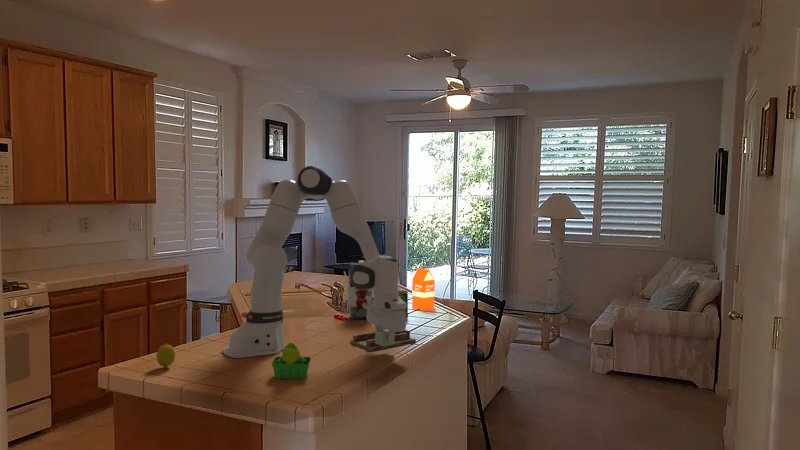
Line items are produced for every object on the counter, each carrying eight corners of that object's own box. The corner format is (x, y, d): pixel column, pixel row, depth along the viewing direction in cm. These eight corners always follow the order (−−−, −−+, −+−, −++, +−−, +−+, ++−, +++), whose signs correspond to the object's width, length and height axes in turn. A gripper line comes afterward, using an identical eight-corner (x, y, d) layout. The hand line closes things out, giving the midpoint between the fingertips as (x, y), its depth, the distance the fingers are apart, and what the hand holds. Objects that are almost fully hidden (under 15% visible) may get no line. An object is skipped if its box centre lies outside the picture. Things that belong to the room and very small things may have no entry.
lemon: (169, 364, 181) (169, 340, 181) (178, 367, 178) (178, 343, 177) (153, 368, 177) (153, 343, 176) (161, 371, 173) (161, 346, 173)
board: (370, 351, 198) (370, 340, 198) (350, 343, 209) (350, 332, 209) (415, 342, 211) (415, 332, 211) (394, 335, 222) (394, 325, 222)
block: (382, 346, 192) (383, 333, 192) (374, 343, 196) (375, 330, 196) (394, 344, 195) (394, 332, 195) (386, 341, 199) (386, 329, 199)
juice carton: (347, 316, 258) (347, 259, 256) (368, 315, 261) (369, 259, 260) (351, 320, 249) (351, 261, 248) (373, 319, 252) (373, 261, 251)
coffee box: (392, 320, 249) (393, 292, 249) (389, 319, 252) (390, 291, 251) (408, 318, 253) (408, 290, 252) (405, 317, 256) (405, 289, 255)
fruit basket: (311, 372, 174) (311, 337, 173) (307, 381, 165) (307, 344, 165) (275, 372, 174) (275, 337, 173) (270, 381, 165) (269, 344, 164)
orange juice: (423, 305, 287) (423, 267, 286) (434, 307, 280) (435, 269, 279) (411, 307, 282) (412, 268, 281) (423, 309, 275) (423, 270, 274)
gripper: (362, 297, 201) (361, 334, 202) (394, 306, 185) (393, 346, 185) (377, 295, 205) (376, 332, 205) (409, 304, 188) (408, 344, 189)
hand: (384, 339), depth 195 cm, fingers closed on block, 5 cm apart
